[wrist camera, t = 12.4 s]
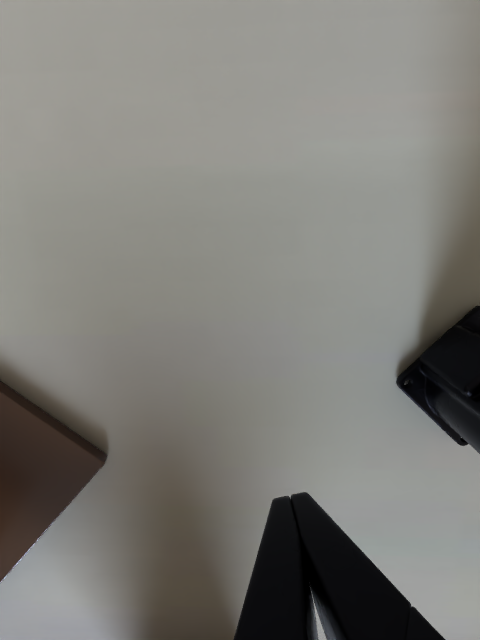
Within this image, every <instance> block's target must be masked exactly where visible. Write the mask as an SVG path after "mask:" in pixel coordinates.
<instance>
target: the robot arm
mask: <svg viewBox="0 0 480 640" xmlns="http://www.w3.org/2000/svg"><path fill="white" fill-rule="evenodd" d="M407 380H409V382H408V384H406V385H404V382H405V381H407ZM396 383H397V386H398V387H399V388H400V389H401V390H402V391H403V392H404V393H405V394H406V395H407V396H408V397H409V398H411V399H412V400H413V401H414V402H415V403H416V404H417V405H418V406H419V407H420V408H421V409H422V410H423V411H424V412H425V413H426V414H427V415H428V416H429V417H430V418H431V419H432V420H434V421H435V422H436V423H437V424H438V425H439V426H440V427H441V428H442V429H443V430H444V431H445V432H446V433H447V434H448V435H449V436H450V437H451V438H452V439H453V440H454V441H455V442H457V443H458V444H459V445H461V446H465V445H467V444H470V445H471V446H472V447H473V448H474V449H475V450H476V451H477V452H478V453H479V454H480V305H479V306H476V307H475V308H474V309H473V310H471V311H470V312H469V313H468V314H467V315H466V316H465V317H464V318H463V319H461V320H460V321H459V322H458V323H457V324H456V325H455V326H453V327H452V328H451V329H449V330H448V331H447V332H446V333H445V334H444V335H443V336H442V337H441V338H440V339H438V340H437V341H436V342H435V343H434V344H433V345H432V346H431V347H430V348H428V349H427V350H426V351H425V352H424V353H423V354H422V355H421V357H419V358H418V359H417V360H416V361H415V362H414V363H413V364H412V365H411V366H409V367H408V368H407V369H406V370H405V371H404V372H403V373H402V374H401V375H400V376H399V377H398V378H397V381H396ZM461 437H462V438H461ZM310 587H311V588H310ZM311 591H312V593H311ZM312 595H313V598H312ZM313 599H314V603H315V606H316V609H317V612H318V615H319V618H320V621H321V624H322V627H323V630H324V633H325V636H326V638H327V640H445V639H444V638H443V637H442V636H441V635H440V634H439V633H438V632H437V631H436V630H435V629H434V628H433V627H432V626H431V625H430V623H429V622H428V621H427V620H426V619H425V618H424V617H423V616H422V615H421V614H420V613H419V612H418V611H417V610H416V608H415V607H411V604H410V602H409V601H408V600H407V599H406V598H405V597H404V596H403V595H402V594H401V593H400V592H399V590H398V589H397V588H396V587H395V586H394V585H393V584H392V583H391V582H390V581H389V580H388V579H387V578H386V576H385V575H384V574H383V573H382V572H381V571H380V570H379V569H378V568H377V567H376V566H375V565H374V564H373V563H372V561H371V560H370V559H369V558H368V557H367V556H366V555H365V554H364V553H363V552H362V551H361V550H360V549H359V548H358V546H357V545H356V544H355V543H354V542H353V541H352V540H351V539H350V538H349V537H348V536H347V535H346V534H345V533H344V531H343V530H342V529H341V528H340V527H339V526H338V525H337V524H336V523H335V522H334V521H333V520H332V519H331V517H330V516H329V515H328V514H327V513H326V512H325V511H324V510H323V509H322V508H321V507H320V506H319V505H318V504H317V502H316V501H315V500H314V499H313V498H312V497H311V496H310V495H309V494H308V493H306V492H303V493H298V494H293V495H291V499H290V497H289V496H284V497H279V498H275V499H273V501H272V504H271V508H270V511H269V515H268V518H267V522H266V525H265V529H264V533H263V536H262V540H261V543H260V547H259V551H258V554H257V558H256V561H255V565H254V568H253V572H252V576H251V579H250V583H249V586H248V590H247V593H246V597H245V601H244V604H243V608H242V611H241V615H240V619H239V622H238V626H237V629H236V633H235V636H234V640H318V633H317V625H316V617H315V610H314V603H313Z"/></svg>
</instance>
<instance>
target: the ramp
mask: <svg viewBox="0 0 480 640" xmlns="http://www.w3.org/2000/svg"><path fill="white" fill-rule="evenodd" d="M106 458H107V454H105V453H104V452H102V451H101V450H99V449H98V448H96V447H95V446H94V445H92V444H91V443H89V442H88V441H86V440H85V439H83V438H82V437H81V436H79V435H78V434H76V433H75V432H73V431H72V430H70V429H69V428H67V427H66V426H65V425H63V424H62V423H60V422H59V421H57V420H56V419H54V418H53V417H52V416H50V415H49V414H47V413H46V412H44V411H43V410H41V409H40V408H39V407H37V406H36V405H34V404H33V403H31V402H30V401H28V400H27V399H26V398H24V397H23V396H21V395H20V394H18V393H17V392H15V391H14V390H13V389H11V388H10V387H8V386H7V385H5V384H4V383H2V382H1V381H0V583H1V582H2V581H3V579H4V578H5V577H6V576H7V575H8V574H9V573H10V571H11V570H12V569H13V568H14V567H15V566H16V565H17V563H18V562H19V561H20V560H21V559H22V558H23V557H24V555H25V554H26V553H27V552H28V551H29V550H30V549H31V547H32V546H33V545H34V544H35V543H36V542H37V541H38V539H39V538H40V537H41V536H42V535H43V534H44V533H45V531H46V530H47V529H48V528H49V527H50V526H51V525H52V523H53V522H54V521H55V520H56V519H57V518H58V516H59V515H60V514H61V513H62V512H63V511H64V510H65V508H66V507H67V506H68V505H69V504H70V503H71V502H72V500H73V499H74V498H75V497H76V496H77V495H78V494H79V492H80V491H81V490H82V489H83V488H84V487H85V486H86V484H87V483H88V482H89V481H90V480H91V479H92V478H93V476H94V475H95V474H96V473H97V472H98V471H99V470H100V468H101V467H102V466H103V465H104V464H105V461H106Z"/></svg>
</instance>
